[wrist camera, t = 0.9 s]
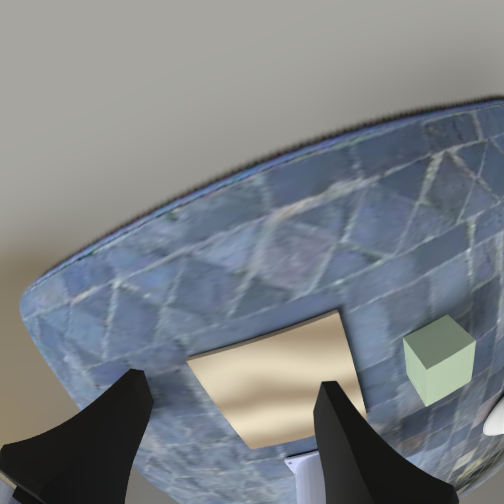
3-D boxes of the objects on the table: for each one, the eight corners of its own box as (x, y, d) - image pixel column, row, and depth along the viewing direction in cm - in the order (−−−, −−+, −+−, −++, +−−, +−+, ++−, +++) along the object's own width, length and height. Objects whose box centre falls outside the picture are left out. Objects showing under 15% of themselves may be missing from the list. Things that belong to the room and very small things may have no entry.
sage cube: (447, 352, 21) (470, 380, 16) (406, 374, 22) (426, 406, 17) (446, 313, 20) (475, 340, 15) (402, 336, 21) (426, 369, 16)
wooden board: (365, 414, 23) (367, 417, 23) (251, 445, 25) (250, 449, 25) (336, 309, 20) (338, 312, 20) (187, 357, 22) (186, 361, 22)
